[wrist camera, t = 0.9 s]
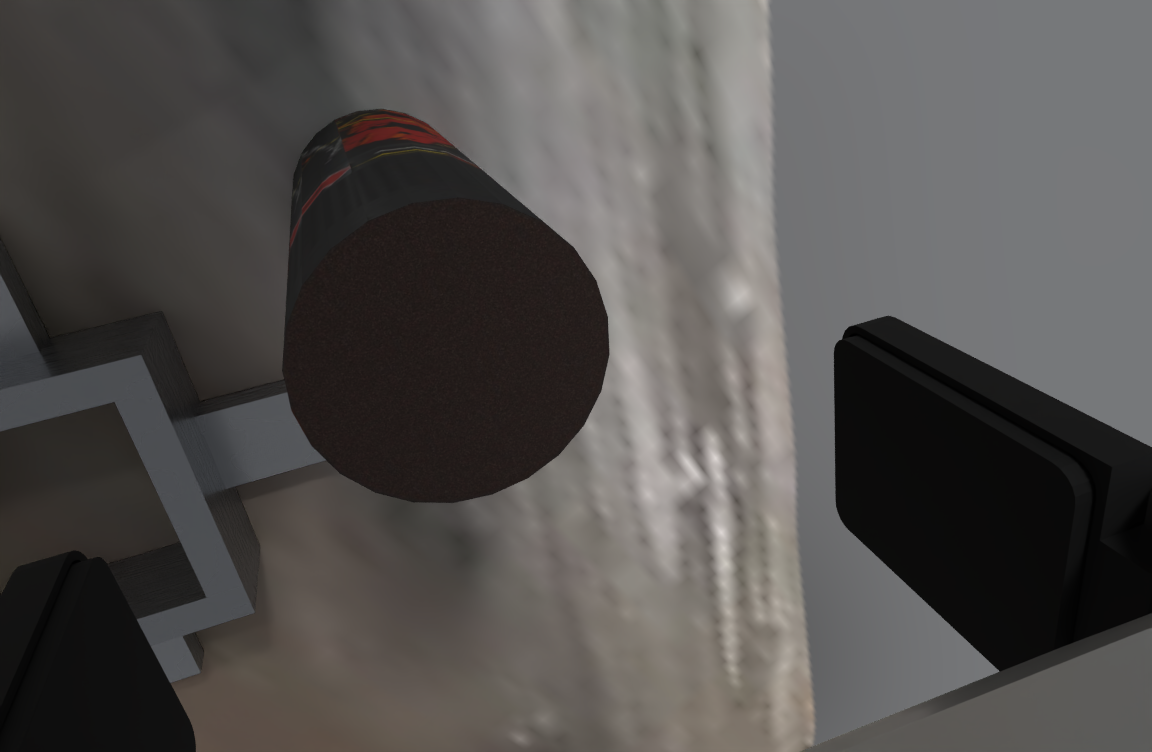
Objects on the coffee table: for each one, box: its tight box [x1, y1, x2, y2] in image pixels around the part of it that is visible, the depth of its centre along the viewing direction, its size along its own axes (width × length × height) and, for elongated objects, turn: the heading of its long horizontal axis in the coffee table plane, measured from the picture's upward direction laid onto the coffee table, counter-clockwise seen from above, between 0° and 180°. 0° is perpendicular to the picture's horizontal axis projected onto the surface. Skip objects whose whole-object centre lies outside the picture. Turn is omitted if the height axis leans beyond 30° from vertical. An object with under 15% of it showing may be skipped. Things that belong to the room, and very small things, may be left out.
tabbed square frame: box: [0, 238, 326, 683], centre depth 26 cm, size 18×18×4 cm
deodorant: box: [282, 109, 609, 503], centre depth 21 cm, size 6×6×15 cm
